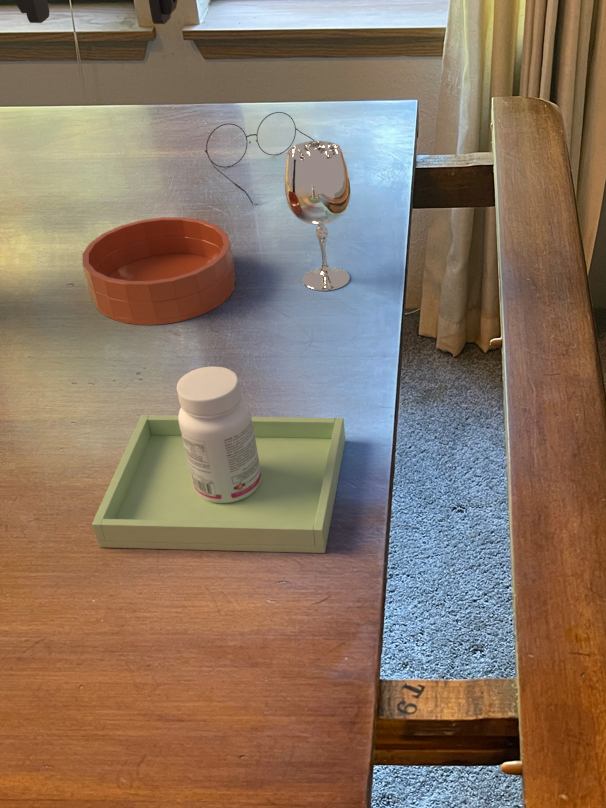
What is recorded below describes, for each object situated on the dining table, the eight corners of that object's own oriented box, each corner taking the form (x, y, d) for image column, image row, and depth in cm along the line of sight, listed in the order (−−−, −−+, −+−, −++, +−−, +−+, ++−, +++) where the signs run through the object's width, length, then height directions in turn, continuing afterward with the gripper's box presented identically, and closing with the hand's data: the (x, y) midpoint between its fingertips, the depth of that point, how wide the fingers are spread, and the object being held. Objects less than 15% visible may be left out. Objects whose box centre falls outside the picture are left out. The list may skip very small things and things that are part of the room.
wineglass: (358, 292, 88) (349, 162, 79) (295, 296, 87) (280, 166, 79) (355, 262, 92) (346, 136, 84) (295, 266, 92) (281, 140, 83)
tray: (99, 547, 63) (91, 524, 62) (147, 436, 72) (141, 414, 71) (325, 553, 62) (322, 529, 61) (345, 440, 71) (343, 417, 70)
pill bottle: (260, 458, 69) (243, 358, 63) (264, 500, 65) (247, 398, 60) (193, 466, 68) (170, 367, 63) (194, 509, 65) (170, 408, 59)
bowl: (74, 324, 85) (62, 283, 82) (116, 255, 94) (106, 216, 92) (219, 325, 84) (212, 284, 81) (247, 256, 93) (241, 217, 91)
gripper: (175, -303, 55) (216, 7, 66) (-59, -300, 56) (20, 4, 67) (138, -297, 50) (189, 39, 61) (-121, -294, 51) (-24, 36, 62)
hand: (100, 20), depth 64 cm, fingers open, 8 cm apart
